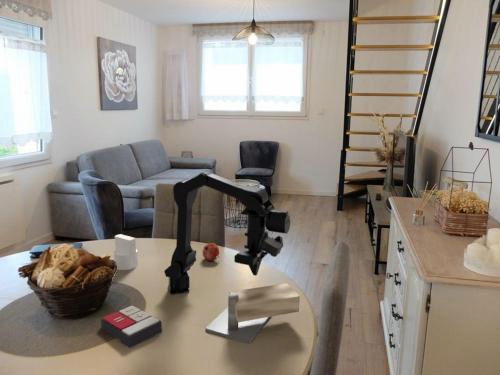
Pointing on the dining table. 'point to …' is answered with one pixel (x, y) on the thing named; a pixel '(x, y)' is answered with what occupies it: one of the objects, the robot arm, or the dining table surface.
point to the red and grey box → (131, 326)
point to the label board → (243, 332)
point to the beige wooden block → (261, 303)
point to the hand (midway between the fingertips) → (255, 275)
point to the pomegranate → (210, 251)
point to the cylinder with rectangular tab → (125, 252)
